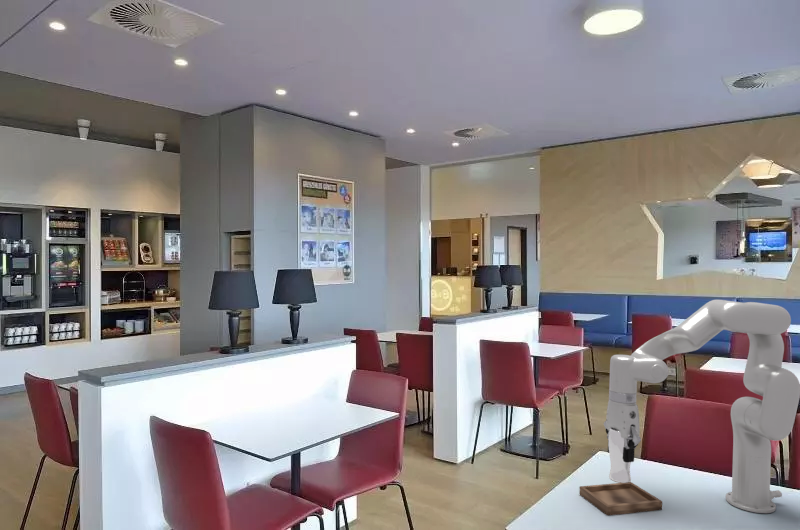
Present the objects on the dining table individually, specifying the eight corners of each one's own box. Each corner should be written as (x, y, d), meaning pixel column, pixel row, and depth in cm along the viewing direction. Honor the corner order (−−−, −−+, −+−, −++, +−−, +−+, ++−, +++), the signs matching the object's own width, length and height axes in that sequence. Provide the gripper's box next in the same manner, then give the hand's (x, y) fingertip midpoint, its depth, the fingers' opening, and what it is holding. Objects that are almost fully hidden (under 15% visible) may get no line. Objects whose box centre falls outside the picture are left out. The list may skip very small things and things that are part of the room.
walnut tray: (630, 489, 173) (630, 481, 173) (662, 509, 159) (662, 501, 159) (579, 494, 168) (579, 486, 168) (607, 515, 155) (607, 506, 155)
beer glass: (611, 472, 169) (612, 423, 168) (635, 478, 164) (636, 428, 164) (604, 479, 163) (605, 429, 163) (629, 486, 159) (630, 434, 159)
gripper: (653, 404, 156) (651, 467, 156) (615, 389, 173) (613, 446, 173) (630, 405, 154) (628, 469, 154) (594, 390, 171) (592, 447, 171)
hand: (620, 456), depth 164 cm, fingers closed on beer glass, 6 cm apart
